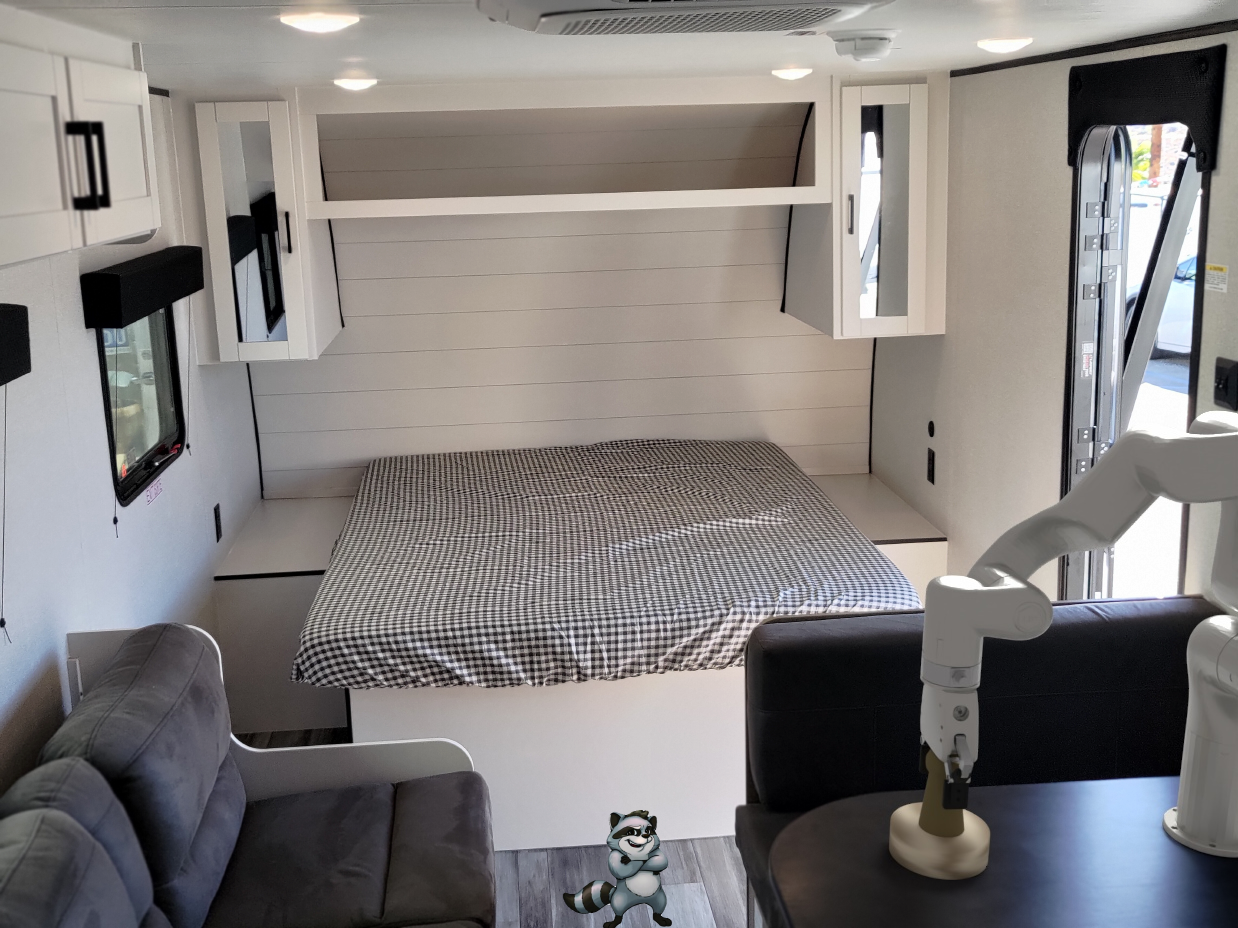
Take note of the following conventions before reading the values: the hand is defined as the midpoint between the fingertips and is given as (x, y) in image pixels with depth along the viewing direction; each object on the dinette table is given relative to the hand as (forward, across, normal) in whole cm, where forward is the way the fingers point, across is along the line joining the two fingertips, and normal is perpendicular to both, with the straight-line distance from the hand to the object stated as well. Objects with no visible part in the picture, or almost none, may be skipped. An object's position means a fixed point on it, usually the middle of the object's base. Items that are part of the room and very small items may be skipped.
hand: (942, 789), depth 155 cm
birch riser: (+9, 0, 0) cm, 9 cm away
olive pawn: (+6, 0, 0) cm, 6 cm away
